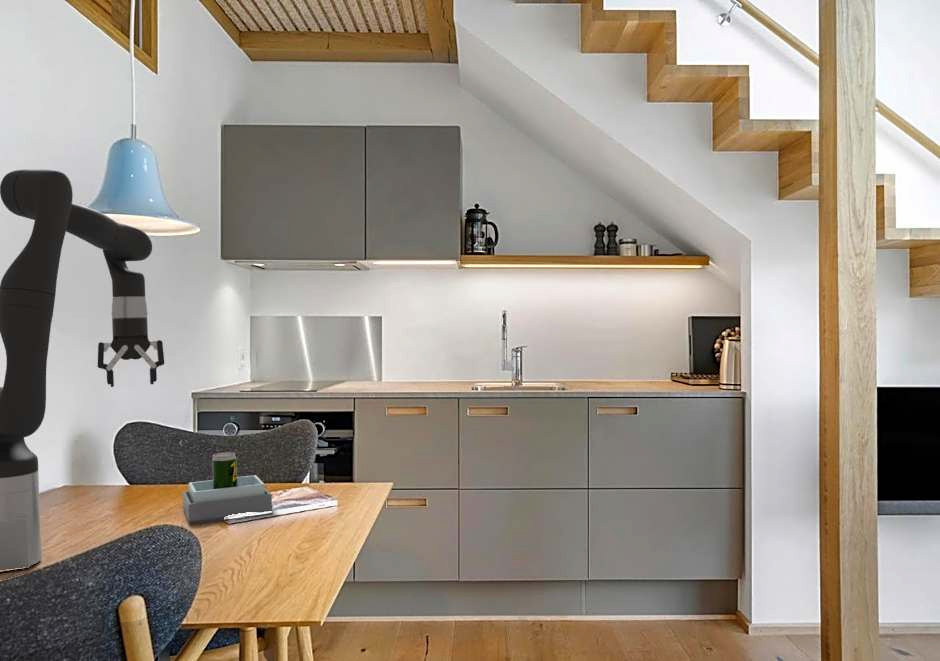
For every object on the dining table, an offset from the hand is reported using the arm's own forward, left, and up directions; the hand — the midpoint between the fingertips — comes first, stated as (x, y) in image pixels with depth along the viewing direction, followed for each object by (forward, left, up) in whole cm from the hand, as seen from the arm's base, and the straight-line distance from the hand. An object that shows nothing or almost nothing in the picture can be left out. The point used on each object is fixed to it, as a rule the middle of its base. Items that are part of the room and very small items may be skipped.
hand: (132, 385), depth 177 cm
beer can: (-11, -19, -29) cm, 36 cm away
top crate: (-11, -19, -30) cm, 37 cm away
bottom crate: (-11, -19, -30) cm, 37 cm away
